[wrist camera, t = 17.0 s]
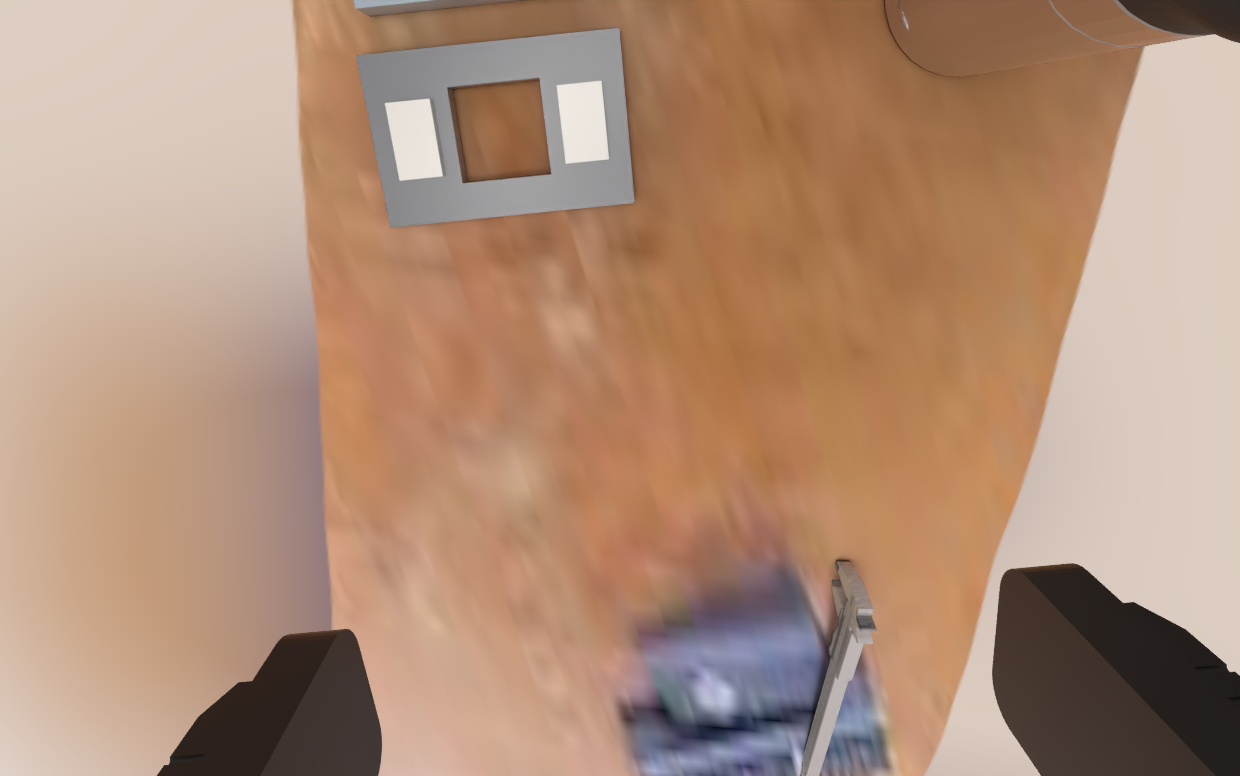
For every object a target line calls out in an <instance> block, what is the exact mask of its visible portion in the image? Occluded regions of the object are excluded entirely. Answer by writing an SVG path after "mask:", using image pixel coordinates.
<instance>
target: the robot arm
mask: <svg viewBox="0 0 1240 776" xmlns="http://www.w3.org/2000/svg"><path fill="white" fill-rule="evenodd" d="M885 9H886V15H887V19H888V22H889V26H890V30H891V32H892V34H893V36H894V38H895V40H896V41H897V43H898V45H899V47H900V48H901V49H902V50H903V51H904V53H905V54H906V55H907V56H908V57H909V58H910V59H911V60H912V61H913V62H915V63H916V64H918V65H919V66H921V67H922V68H923V69H925V70H928V71H931V72H933V73H936V74H939V75H944V76H952V77H962V76H971V75H978V74H984V73H989V72H995V71H1003V70H1009V69H1015V68H1021V67H1027V66H1033V65H1038V64H1044V63H1050V62H1056V61H1062V60H1068V59H1074V58H1079V57H1085V56H1091V55H1097V54H1103V53H1109V52H1115V51H1120V50H1126V49H1132V48H1138V47H1144V46H1148V45H1152V44H1159V43H1165V42H1170V41H1176V40H1182V39H1188V38H1194V37H1200V36H1206V35H1211V34H1216V35H1218V36H1220V37H1223V38H1226V39H1228V40H1231V41H1234V42H1238V43H1240V0H885ZM992 677H993V686H994V691H995V696H996V699H997V703H998V706H999V708H1000V711H1001V713H1002V716H1003V718H1004V719H1005V722H1006V724H1007V725H1008V727H1009V729H1010V730H1011V731H1012V733H1013V735H1014V736H1015V738H1016V739H1017V741H1018V742H1019V744H1020V745H1021V747H1022V748H1023V749H1024V751H1025V752H1026V754H1027V755H1028V757H1029V758H1030V760H1031V761H1032V763H1033V764H1034V766H1035V767H1036V769H1037V770H1038V772H1039V773H1040V775H1041V776H1240V676H1239V675H1238V674H1237V673H1236V672H1229V671H1228V669H1227V665H1226V664H1225V663H1224V662H1223V661H1221V659H1219V658H1218V657H1217V656H1216V655H1215V654H1214V653H1212V652H1211V651H1210V650H1209V649H1208V648H1207V647H1205V646H1204V645H1203V644H1202V643H1201V642H1200V641H1198V640H1197V639H1196V638H1195V637H1194V636H1193V635H1191V634H1190V633H1189V632H1188V631H1187V630H1186V629H1184V628H1182V627H1180V626H1178V625H1176V624H1174V623H1172V622H1170V621H1168V620H1167V619H1165V618H1163V617H1161V616H1159V615H1157V614H1155V613H1153V612H1151V611H1149V610H1147V609H1146V608H1144V607H1142V606H1140V605H1138V604H1136V603H1134V602H1131V603H1122V602H1121V601H1120V600H1119V599H1118V598H1117V597H1116V596H1115V595H1114V594H1112V593H1111V592H1110V591H1109V590H1108V589H1107V588H1106V587H1105V586H1103V585H1102V584H1101V583H1100V582H1099V581H1098V580H1097V579H1096V578H1095V577H1094V576H1093V575H1091V574H1090V573H1089V572H1088V571H1087V570H1085V569H1084V568H1083V567H1081V566H1079V565H1077V564H1073V563H1072V564H1061V565H1049V566H1038V567H1028V568H1017V569H1010V570H1008V571H1006V572H1005V573H1004V575H1003V577H1002V580H1001V584H1000V592H999V603H998V614H997V625H996V635H995V647H994V657H993V669H992ZM381 752H382V737H381V728H380V723H379V719H378V715H377V711H376V708H375V704H374V700H373V696H372V693H371V689H370V685H369V681H368V678H367V674H366V670H365V666H364V663H363V659H362V655H361V652H360V648H359V644H358V641H357V639H356V637H355V635H354V633H353V632H352V631H351V630H348V629H341V630H331V631H321V632H309V633H299V634H289V635H286V636H283V637H282V638H281V639H280V640H279V641H278V643H277V644H276V645H275V647H274V649H273V650H272V652H271V653H270V655H269V656H268V658H267V659H266V661H265V662H264V664H263V665H262V667H261V668H260V670H259V671H258V673H257V675H256V676H255V678H254V679H253V681H249V682H239V683H237V684H236V685H235V686H234V687H233V688H232V689H230V690H229V691H228V692H227V693H226V694H225V695H224V696H222V697H221V698H220V699H219V700H218V701H217V702H215V703H214V704H213V705H212V706H211V707H209V708H208V709H207V710H206V711H205V712H204V713H203V714H201V715H200V716H199V717H198V718H197V720H196V721H195V722H194V724H193V725H192V727H191V728H190V729H189V731H188V732H187V734H186V735H185V737H184V738H183V739H182V741H181V742H180V744H179V745H178V747H177V748H176V749H175V751H174V752H173V754H172V755H171V757H170V763H169V765H164V766H163V768H162V769H161V771H160V772H159V773H158V775H157V776H378V774H379V769H380V763H381Z"/></svg>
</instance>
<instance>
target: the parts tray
mask: <svg viewBox="0 0 1240 776" xmlns="http://www.w3.org/2000/svg"><path fill="white" fill-rule="evenodd" d="M512 1H522V0H354V4H355V9H357V10H359V11H361V12H363V13H365V14H367V15H369V16H380V15H389V14H399V13H408V12H418V11H427V10H436V9H446V8H455V7H465V6H474V5H484V4H493V3H503V2H512Z"/></svg>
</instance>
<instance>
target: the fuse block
mask: <svg viewBox="0 0 1240 776" xmlns="http://www.w3.org/2000/svg"><path fill="white" fill-rule="evenodd" d="M356 58H357V63H358V68H359V73H360V78H361V83H362V88H363V93H364V98H365V103H366V108H367V113H368V118H369V124H370V129H371V134H372V139H373V144H374V149H375V154H376V159H377V164H378V169H379V174H380V179H381V184H382V189H383V194H384V199H385V204H386V209H387V214H388V219H389V224H390V228H392V227H402V226H412V225H422V224H432V223H442V222H452V221H461V220H471V219H481V218H491V217H501V216H511V215H521V214H530V213H540V212H550V211H560V210H570V209H580V208H590V207H599V206H609V205H619V204H629V203H635V201H634V190H633V178H632V167H631V156H630V144H629V133H628V121H627V110H626V99H625V87H624V76H623V64H622V53H621V42H620V30H619V28H612V29H602V30H593V31H583V32H574V33H564V34H555V35H545V36H536V37H526V38H517V39H507V40H498V41H488V42H478V43H469V44H459V45H450V46H440V47H431V48H421V49H412V50H402V51H393V52H383V53H374V54H364V55H356ZM535 80H540V87H541V95H542V103H543V111H544V119H545V127H546V135H547V143H548V151H549V160H550V168H551V173H550V174H540V175H530V176H521V177H511V178H501V179H491V180H481V181H472V182H467V176H466V169H465V163H464V157H463V151H462V145H461V138H460V132H459V126H458V120H457V114H456V107H455V101H454V95H453V89H458V88H468V87H478V86H487V85H497V84H506V83H516V82H526V81H535Z"/></svg>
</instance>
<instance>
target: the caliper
mask: <svg viewBox="0 0 1240 776" xmlns="http://www.w3.org/2000/svg"><path fill="white" fill-rule="evenodd" d="M835 566H836V568H837V571H838V574H839V577H840V580H832V592H833V597H834V601H835V606H836V611H837V616H838V621H839V622H838V625H837V628H835V630H834V631H833V633H832V638H831V642H830V644H829V646H828V651H829V655H830V658H831V659H830V662H829V666H828V669H827V673H826V677H825V680H824V684H823V687H822V691H821V694H820V698H819V701H818V705H817V709H816V712H815V716H814V719H813V722H812V726H811V729H810V733H809V736H808V740H807V743H806V747H805V750H804V756H803V762H802V772H801V775H800V776H819V774H820V771H821V768H822V765H823V761H824V758H825V755H826V752H827V749H828V745H829V742H830V739H831V736H832V732H833V729H834V726H835V723H836V719H837V716H838V713H839V710H840V706H841V703H842V700H843V696H844V693H845V690H846V687H847V683H848V680H852V678H853V675H854V672H855V669H856V666H857V663H858V660H859V657H860V654H861V651H862V647H863V644H873V641H872V634H871V631H877V629H876V627H875V624H874V621H873V619H872V613H873V607H872V604H871V601H870V598H869V595H868V593H867V590H866V587H865V584H864V583H863V581H862V579H861V577H860V576H859V574H858V572H857V570H856V569H855V567H854V565H853V564H852V562H836V564H835Z"/></svg>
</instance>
